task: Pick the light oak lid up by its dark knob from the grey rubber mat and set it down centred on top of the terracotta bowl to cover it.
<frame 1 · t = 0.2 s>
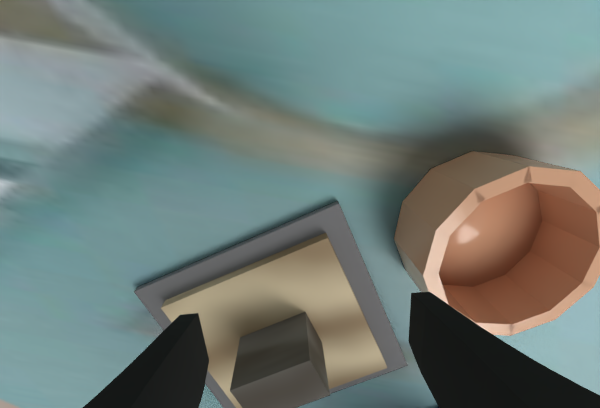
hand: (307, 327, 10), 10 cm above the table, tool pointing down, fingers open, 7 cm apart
mat: (281, 326, 22), on the table
bowl: (469, 226, 20), on the table
lid: (281, 331, 21), resting on mat
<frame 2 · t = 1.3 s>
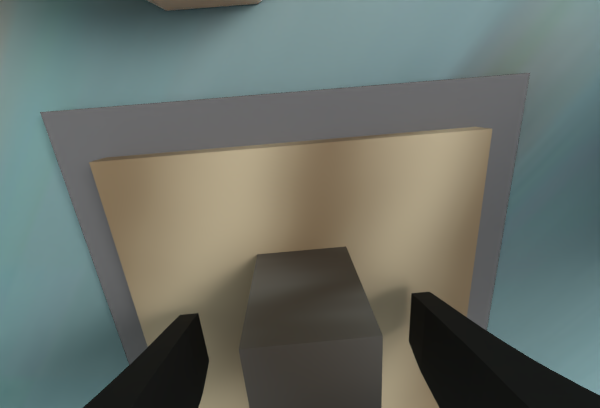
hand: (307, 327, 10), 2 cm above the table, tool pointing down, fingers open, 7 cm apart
mat: (304, 289, 12), on the table
lid: (305, 297, 11), resting on mat
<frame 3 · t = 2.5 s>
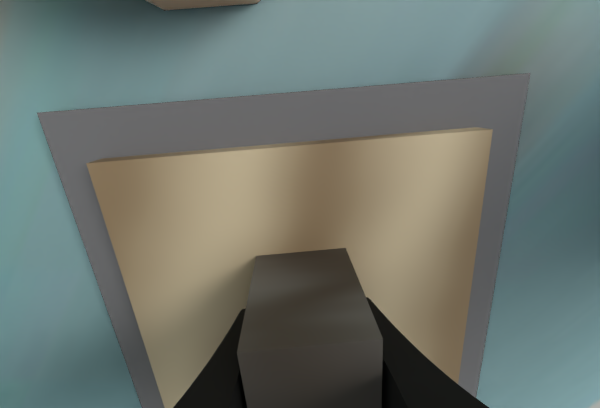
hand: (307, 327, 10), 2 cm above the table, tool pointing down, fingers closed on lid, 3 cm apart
mat: (304, 291, 12), on the table
lid: (304, 299, 11), resting on mat, touching gripper
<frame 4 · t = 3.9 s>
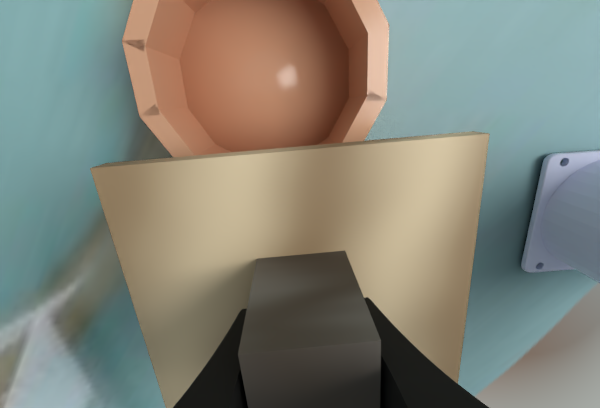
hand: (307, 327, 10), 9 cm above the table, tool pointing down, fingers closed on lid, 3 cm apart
bowl: (267, 80, 16), on the table
lid: (305, 301, 11), point 7 cm above the table, touching gripper
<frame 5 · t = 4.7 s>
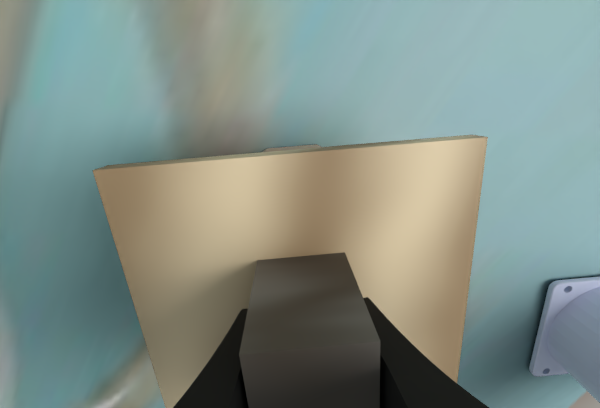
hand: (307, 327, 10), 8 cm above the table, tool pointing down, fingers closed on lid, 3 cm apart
lid: (304, 302, 12), point 6 cm above the table, touching gripper
when the fingers open (7 cm above the table, at t = 5.5 s): lid drops 1 cm, resting on bowl.
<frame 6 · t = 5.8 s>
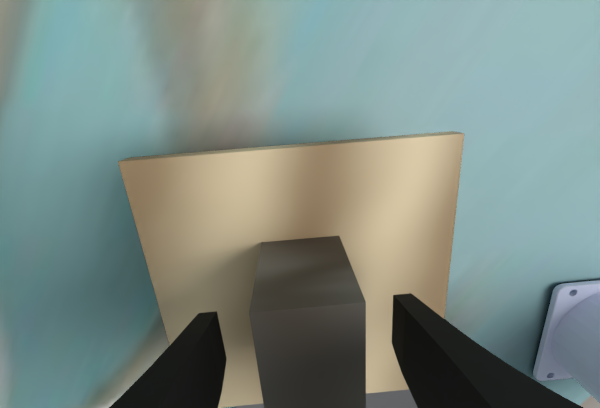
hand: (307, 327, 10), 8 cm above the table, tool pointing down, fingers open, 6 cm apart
lid: (303, 282, 13), point 4 cm above the table, touching bowl
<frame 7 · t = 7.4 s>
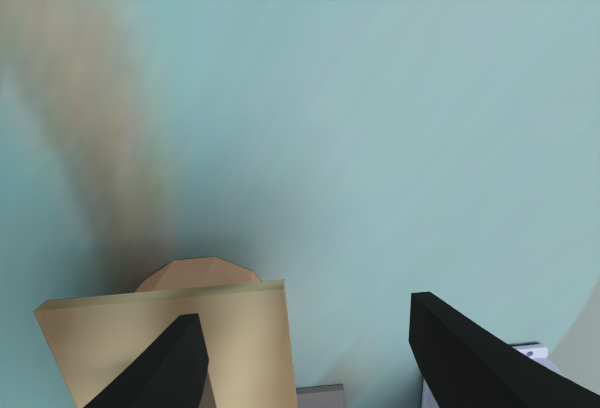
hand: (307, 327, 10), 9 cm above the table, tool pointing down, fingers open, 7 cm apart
bowl: (207, 319, 21), on the table
lid: (189, 378, 17), point 4 cm above the table, touching bowl
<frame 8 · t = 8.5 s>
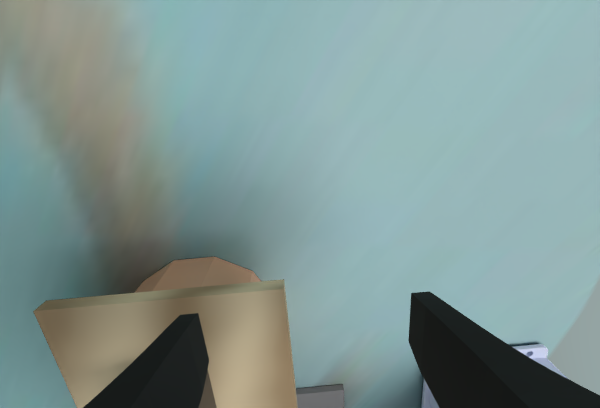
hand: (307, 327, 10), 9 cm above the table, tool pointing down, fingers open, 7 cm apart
bowl: (207, 319, 21), on the table
lid: (189, 378, 17), point 4 cm above the table, touching bowl
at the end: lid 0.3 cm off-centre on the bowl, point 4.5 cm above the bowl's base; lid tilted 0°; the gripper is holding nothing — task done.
